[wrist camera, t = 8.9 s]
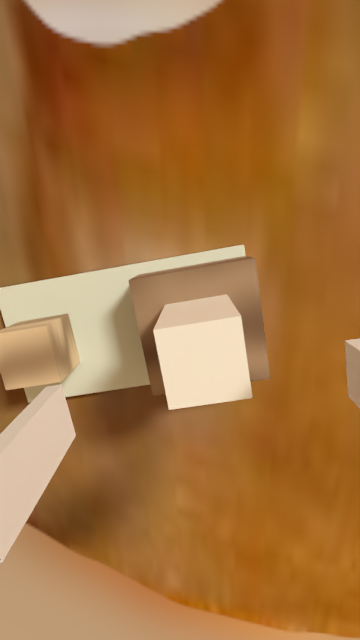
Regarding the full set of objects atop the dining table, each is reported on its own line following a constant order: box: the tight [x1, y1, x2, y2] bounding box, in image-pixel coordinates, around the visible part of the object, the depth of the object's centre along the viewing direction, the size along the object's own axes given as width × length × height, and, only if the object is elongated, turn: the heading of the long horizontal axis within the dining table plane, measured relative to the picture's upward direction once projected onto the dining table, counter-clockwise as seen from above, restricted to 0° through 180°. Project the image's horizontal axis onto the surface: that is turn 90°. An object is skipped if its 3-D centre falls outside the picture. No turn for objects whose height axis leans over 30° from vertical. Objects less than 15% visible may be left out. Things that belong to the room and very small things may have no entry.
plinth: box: [128, 256, 270, 396], centre depth 30 cm, size 10×10×5 cm
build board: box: [0, 245, 245, 403], centre depth 33 cm, size 12×24×1 cm, turn 100°
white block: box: [153, 294, 252, 410], centre depth 23 cm, size 5×5×8 cm
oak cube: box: [0, 313, 80, 390], centre depth 31 cm, size 5×5×5 cm
